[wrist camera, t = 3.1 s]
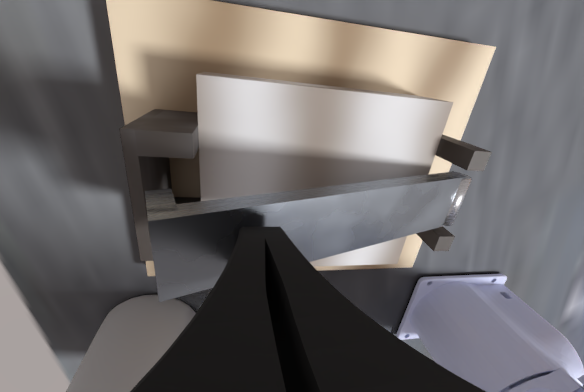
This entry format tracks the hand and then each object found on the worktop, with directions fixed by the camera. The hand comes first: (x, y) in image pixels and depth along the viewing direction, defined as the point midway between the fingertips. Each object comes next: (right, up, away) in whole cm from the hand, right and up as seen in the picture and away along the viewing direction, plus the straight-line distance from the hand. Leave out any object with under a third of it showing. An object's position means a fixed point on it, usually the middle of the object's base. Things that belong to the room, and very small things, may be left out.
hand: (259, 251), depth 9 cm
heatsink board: (+2, +4, +9) cm, 10 cm away
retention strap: (+3, +2, +4) cm, 5 cm away
